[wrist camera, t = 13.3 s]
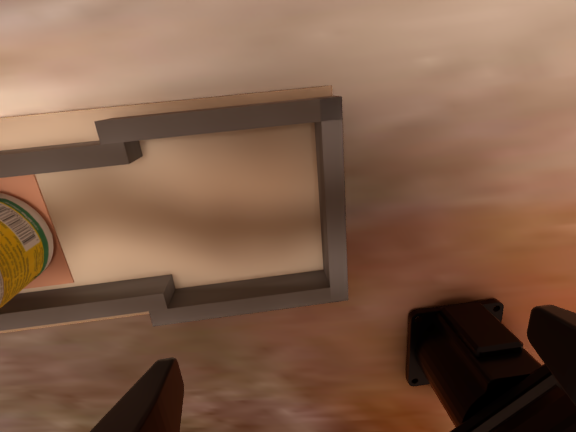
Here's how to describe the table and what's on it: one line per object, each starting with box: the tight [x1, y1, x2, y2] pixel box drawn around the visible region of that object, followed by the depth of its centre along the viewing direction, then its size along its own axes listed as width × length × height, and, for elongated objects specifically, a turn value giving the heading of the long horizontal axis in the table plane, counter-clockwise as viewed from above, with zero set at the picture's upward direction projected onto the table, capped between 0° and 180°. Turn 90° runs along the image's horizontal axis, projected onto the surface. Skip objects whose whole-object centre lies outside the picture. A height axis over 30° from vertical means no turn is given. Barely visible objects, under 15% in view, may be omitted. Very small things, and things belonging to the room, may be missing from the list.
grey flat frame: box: [0, 86, 348, 333], centre depth 18 cm, size 12×22×3 cm, turn 95°
